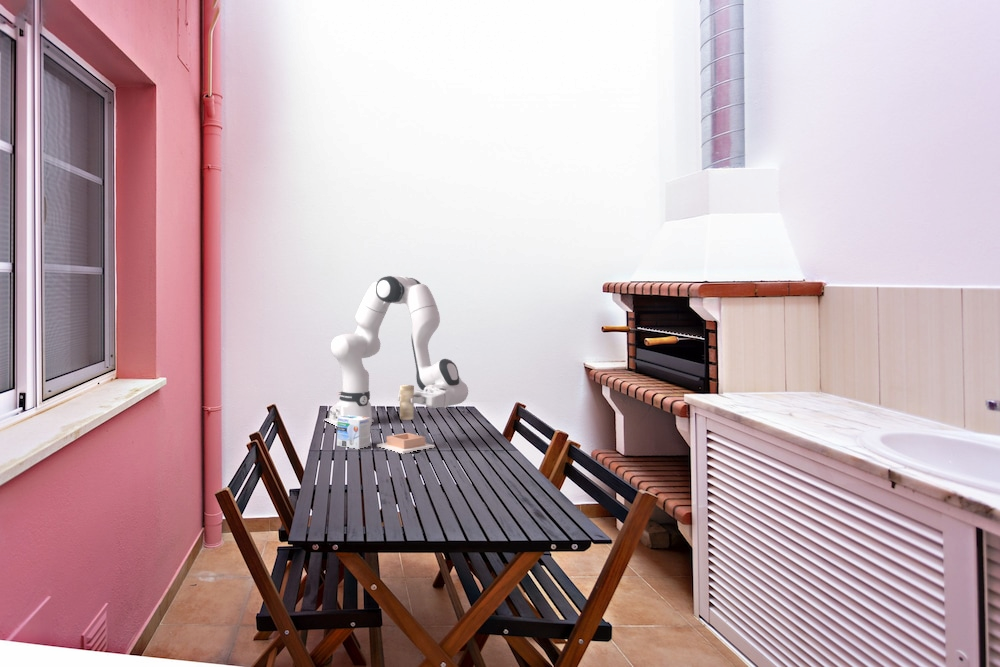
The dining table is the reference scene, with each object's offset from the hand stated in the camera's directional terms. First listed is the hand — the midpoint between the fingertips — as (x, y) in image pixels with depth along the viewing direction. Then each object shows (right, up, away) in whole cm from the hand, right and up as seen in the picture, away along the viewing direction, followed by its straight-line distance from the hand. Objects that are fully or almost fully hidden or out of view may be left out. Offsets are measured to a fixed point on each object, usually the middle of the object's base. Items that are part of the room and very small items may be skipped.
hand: (404, 399), depth 259 cm
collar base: (0, -18, +2) cm, 18 cm away
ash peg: (+1, -7, +1) cm, 7 cm away
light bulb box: (-19, -17, +2) cm, 26 cm away
